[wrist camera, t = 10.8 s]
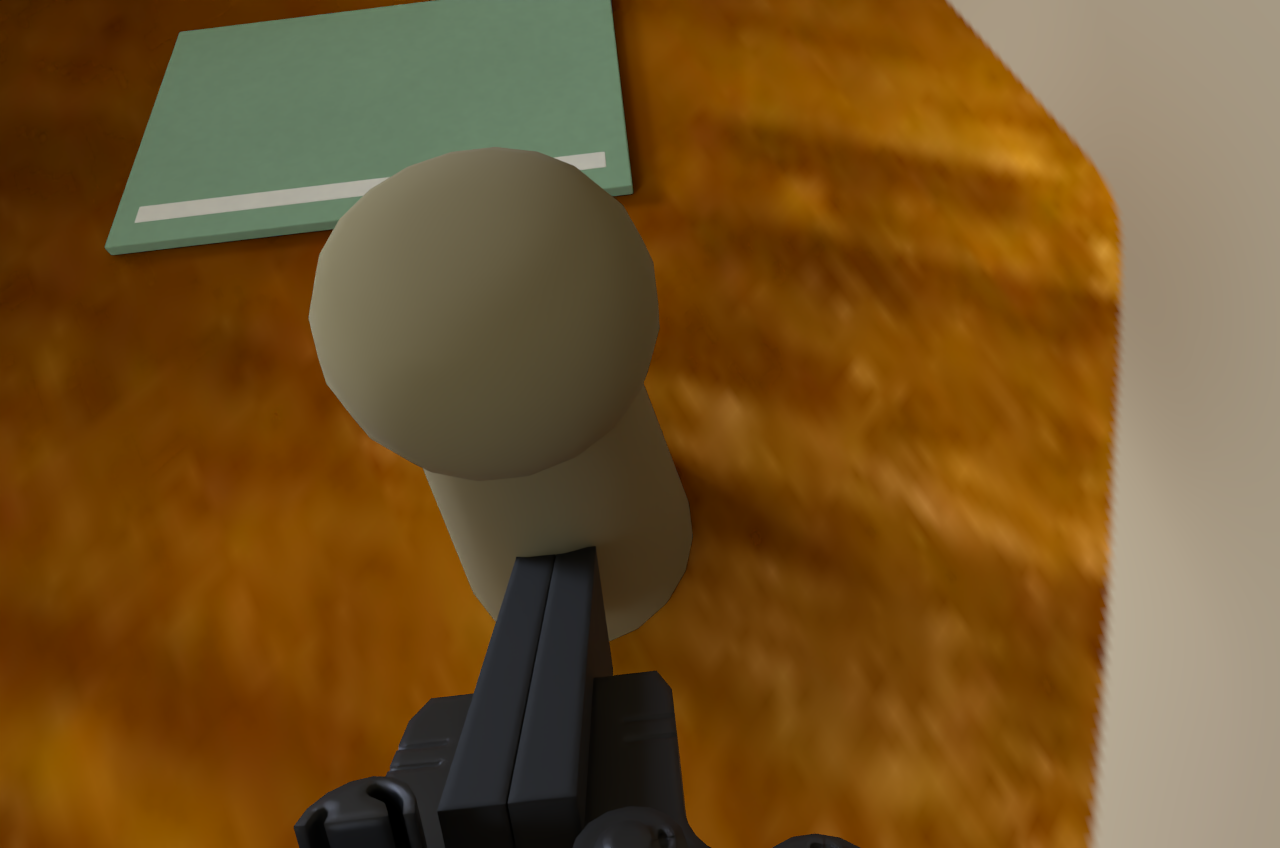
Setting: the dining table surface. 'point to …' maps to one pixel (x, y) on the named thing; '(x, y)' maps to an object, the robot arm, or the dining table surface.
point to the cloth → (364, 112)
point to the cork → (510, 366)
